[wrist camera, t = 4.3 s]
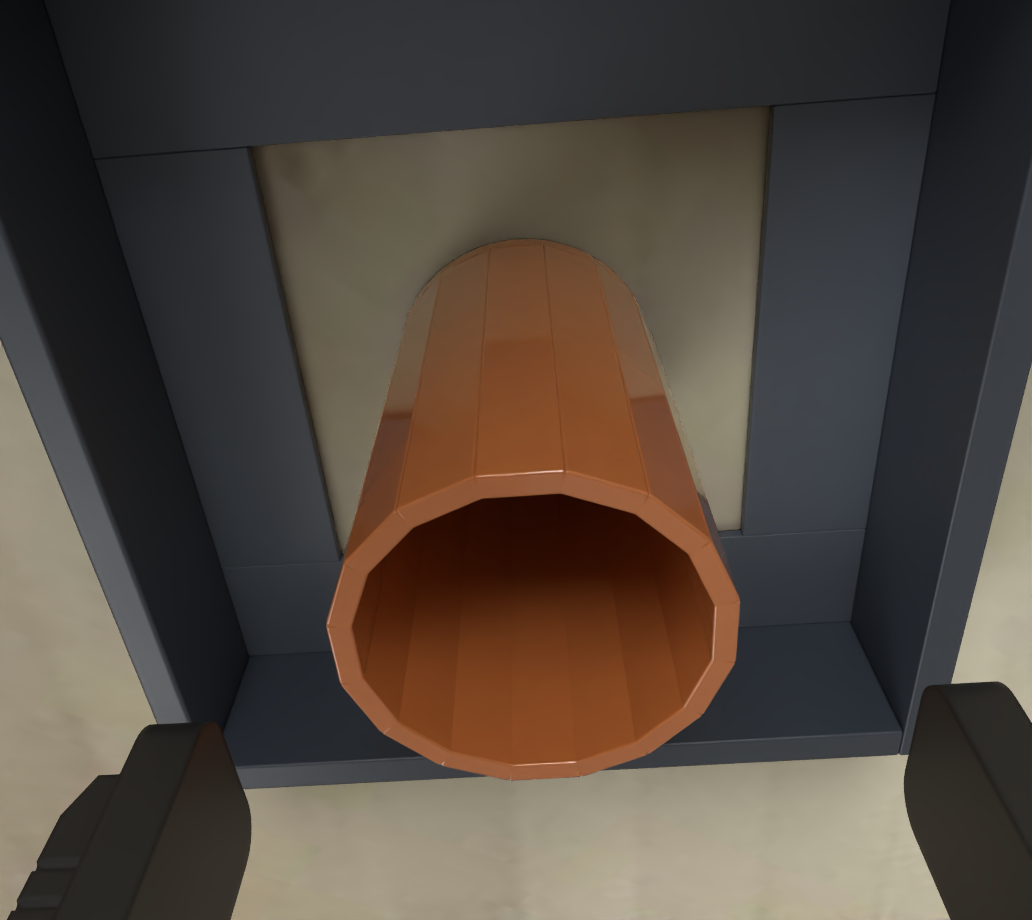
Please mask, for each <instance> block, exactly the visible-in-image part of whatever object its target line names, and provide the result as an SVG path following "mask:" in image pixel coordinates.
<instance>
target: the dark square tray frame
mask: <svg viewBox="0 0 1032 920" xmlns="http://www.w3.org/2000/svg"><path fill="white" fill-rule="evenodd" d="M758 106H771V108H770V123H769V137H768V151H767V165H766V179H765V193H764V207H763V221H762V235H761V249H760V263H759V277H758V291H757V306H756V320H755V334H754V348H753V362H752V376H751V390H750V404H749V418H748V432H747V446H746V460H745V474H744V488H743V503H742V517H741V530H730V531H718V534H719V537H720V540H721V543H722V546H723V549H724V552H725V555H726V558H727V561H728V564H729V567H730V570H731V573H732V576H733V579H734V582H735V585H736V588H737V591H738V594H739V597H740V602H741V603H740V616H739V629H738V643H737V656H736V661H735V664H734V666H733V667H732V669H731V671H730V672H729V674H728V675H727V677H726V679H725V680H724V682H723V683H722V685H721V687H720V688H719V690H718V691H717V693H716V695H715V696H714V698H713V699H712V701H711V703H710V704H709V706H708V707H707V709H706V711H705V712H704V714H702V715H701V717H700V718H698V719H697V720H695V721H694V722H693V723H691V724H690V725H689V726H687V727H686V728H684V729H683V730H682V731H680V732H679V733H678V734H676V735H675V736H673V737H672V738H671V739H669V740H668V741H667V742H665V743H664V744H662V745H661V746H660V747H658V748H657V749H656V750H654V751H653V752H651V753H647V755H646V756H643V757H640V758H637V759H634V760H631V761H628V762H625V763H622V764H619V765H616V766H613V767H610V768H607V769H604V770H619V769H638V768H658V767H677V766H696V765H715V764H734V763H753V762H772V761H791V760H810V759H829V758H848V757H868V756H887V755H897V754H898V753H899V754H900V755H909V751H910V746H911V742H912V737H913V732H914V728H915V723H916V719H917V714H918V709H919V705H920V700H921V696H922V693H923V691H924V689H925V688H926V687H927V686H929V685H941V684H951V681H952V677H953V673H954V669H955V665H956V661H957V657H958V653H959V649H960V645H961V641H962V637H963V633H964V629H965V625H966V621H967V617H968V613H969V609H970V606H971V602H972V598H973V594H974V590H975V586H976V582H977V578H978V574H979V570H980V566H981V562H982V558H983V554H984V550H985V546H986V542H987V538H988V534H989V530H990V526H991V522H992V518H993V514H994V510H995V506H996V502H997V498H998V494H999V490H1000V486H1001V482H1002V478H1003V474H1004V470H1005V466H1006V462H1007V458H1008V454H1009V450H1010V446H1011V442H1012V438H1013V434H1014V430H1015V426H1016V422H1017V418H1018V414H1019V410H1020V406H1021V402H1022V398H1023V394H1024V390H1025V387H1026V383H1027V379H1028V375H1029V371H1030V367H1031V363H1032V0H0V340H1V342H2V345H3V347H4V349H5V352H6V354H7V357H8V359H9V362H10V364H11V367H12V369H13V371H14V374H15V376H16V379H17V381H18V384H19V386H20V389H21V391H22V394H23V396H24V398H25V401H26V403H27V406H28V408H29V411H30V413H31V416H32V418H33V420H34V423H35V425H36V428H37V430H38V433H39V435H40V438H41V440H42V443H43V445H44V447H45V450H46V452H47V455H48V457H49V460H50V462H51V465H52V467H53V469H54V472H55V474H56V477H57V479H58V482H59V484H60V487H61V489H62V492H63V494H64V496H65V499H66V501H67V504H68V506H69V509H70V511H71V514H72V516H73V518H74V521H75V523H76V526H77V528H78V531H79V533H80V536H81V538H82V541H83V543H84V545H85V548H86V550H87V553H88V555H89V558H90V560H91V563H92V565H93V567H94V570H95V572H96V575H97V577H98V580H99V582H100V585H101V587H102V590H103V592H104V594H105V597H106V599H107V602H108V604H109V607H110V609H111V612H112V614H113V617H114V619H115V621H116V624H117V626H118V629H119V631H120V634H121V636H122V639H123V641H124V643H125V646H126V648H127V651H128V653H129V656H130V658H131V661H132V663H133V666H134V668H135V670H136V673H137V675H138V678H139V680H140V683H141V685H142V688H143V690H144V692H145V695H146V697H147V700H148V702H149V705H150V707H151V710H152V712H153V715H154V717H155V719H156V722H157V724H173V723H191V722H210V721H213V722H216V723H217V724H218V725H219V727H220V728H221V730H222V732H223V735H224V738H225V740H226V743H227V746H228V749H229V751H230V754H231V757H232V760H233V762H234V765H235V768H236V771H237V773H238V776H239V779H240V782H241V784H242V787H243V789H257V788H276V787H295V786H314V785H333V784H352V783H371V782H390V781H409V780H428V779H447V778H467V777H486V775H481V774H477V773H472V772H467V771H463V770H458V769H454V768H449V767H444V766H442V765H441V764H440V765H439V764H436V763H435V762H433V761H431V760H429V759H427V758H426V757H424V756H422V755H420V754H418V753H417V752H415V751H413V750H411V749H409V748H408V747H406V746H404V745H402V744H400V743H399V742H397V741H395V740H393V739H391V738H390V737H388V736H386V735H384V734H383V733H382V732H381V731H379V730H378V728H377V727H376V726H375V725H374V724H373V723H372V721H371V720H370V719H369V718H368V717H367V715H366V714H365V713H364V712H363V711H362V709H361V708H360V707H359V706H358V705H357V704H356V702H355V701H354V700H353V699H352V698H351V696H350V695H349V694H348V693H347V692H346V691H345V689H344V688H343V687H342V685H341V683H340V681H339V677H338V673H337V669H336V665H335V661H334V657H333V653H332V649H331V645H330V641H329V637H328V633H327V628H326V625H327V624H326V620H327V616H328V613H329V609H330V605H331V601H332V597H333V594H334V590H335V586H336V582H337V578H338V575H339V571H340V567H341V563H342V559H343V556H344V554H341V551H340V547H339V542H338V538H337V533H336V529H335V524H334V520H333V515H332V511H331V506H330V502H329V497H328V493H327V488H326V484H325V479H324V475H323V470H322V466H321V461H320V457H319V452H318V448H317V443H316V439H315V434H314V430H313V425H312V421H311V416H310V412H309V407H308V403H307V398H306V394H305V389H304V385H303V380H302V376H301V371H300V367H299V362H298V358H297V353H296V349H295V344H294V340H293V335H292V331H291V326H290V322H289V317H288V313H287V308H286V304H285V299H284V295H283V290H282V285H281V281H280V276H279V272H278V267H277V263H276V258H275V254H274V249H273V245H272V240H271V236H270V231H269V227H268V222H267V218H266V213H265V209H264V204H263V200H262V195H261V191H260V186H259V182H258V177H257V173H256V168H255V164H254V159H253V155H252V150H251V146H261V145H274V144H287V143H299V142H312V141H325V140H337V139H350V138H363V137H376V136H388V135H401V134H414V133H427V132H439V131H452V130H465V129H478V128H490V127H503V126H516V125H529V124H541V123H554V122H567V121H580V120H592V119H605V118H618V117H631V116H643V115H656V114H669V113H681V112H694V111H707V110H720V109H732V108H745V107H758Z"/></svg>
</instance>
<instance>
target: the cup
mask: <svg viewBox="0 0 1032 920" xmlns="http://www.w3.org/2000/svg"><path fill="white" fill-rule="evenodd" d="M740 603H741V602H740V597H739V594H738V591H737V588H736V585H735V582H734V579H733V576H732V573H731V570H730V567H729V564H728V561H727V558H726V555H725V552H724V549H723V546H722V543H721V540H720V537H719V534H718V531H717V528H716V525H715V522H714V519H713V516H712V513H711V510H710V507H709V504H708V501H707V498H706V495H705V492H704V489H703V486H702V483H701V480H700V477H699V474H698V471H697V468H696V465H695V462H694V459H693V456H692V453H691V450H690V447H689V444H688V441H687V438H686V435H685V432H684V429H683V426H682V423H681V420H680V417H679V414H678V411H677V408H676V405H675V402H674V399H673V396H672V393H671V390H670V387H669V383H668V380H667V377H666V374H665V371H664V368H663V365H662V362H661V359H660V356H659V353H658V350H657V347H656V344H655V341H654V338H653V336H652V334H651V331H650V329H649V327H648V325H647V323H646V320H645V318H644V315H643V312H642V310H641V307H640V306H639V304H638V302H637V300H636V298H635V296H634V295H633V293H632V292H631V291H630V289H629V288H628V287H627V285H626V284H625V283H624V281H623V280H622V279H621V278H620V277H619V276H618V275H617V274H616V273H615V272H614V271H613V270H611V269H610V268H609V267H607V266H606V265H605V264H604V263H602V262H601V261H600V260H598V259H596V258H594V257H593V256H591V255H589V254H587V253H586V252H584V251H581V250H579V249H576V248H574V247H571V246H568V245H565V244H561V243H557V242H553V241H546V240H538V239H514V240H507V241H500V242H496V243H492V244H489V245H485V246H482V247H479V248H477V249H474V250H472V251H470V252H467V253H465V254H464V255H462V256H460V257H458V258H457V259H455V260H453V261H452V262H450V263H449V264H448V265H446V266H445V267H444V268H443V269H441V270H440V271H439V272H438V273H437V274H436V275H435V276H434V277H433V278H432V279H431V280H430V281H429V282H428V283H427V284H426V286H425V287H424V288H423V290H422V291H421V292H420V294H419V295H418V296H417V298H416V300H415V302H414V304H413V306H412V308H411V309H410V312H409V313H408V316H407V319H406V323H405V325H404V329H403V333H402V337H401V340H400V344H399V347H398V351H397V354H396V358H395V362H394V366H393V369H392V373H391V377H390V381H389V385H388V388H387V392H386V396H385V400H384V404H383V407H382V411H381V415H380V419H379V423H378V426H377V430H376V434H375V438H374V442H373V445H372V449H371V453H370V457H369V461H368V464H367V468H366V472H365V476H364V480H363V483H362V487H361V491H360V495H359V499H358V502H357V506H356V510H355V514H354V518H353V521H352V525H351V529H350V533H349V537H348V540H347V544H346V548H345V552H344V556H343V559H342V563H341V567H340V571H339V575H338V578H337V582H336V586H335V590H334V594H333V597H332V601H331V605H330V609H329V613H328V616H327V620H326V624H327V625H326V628H327V633H328V637H329V641H330V645H331V649H332V653H333V657H334V661H335V665H336V669H337V673H338V677H339V681H340V683H341V685H342V687H343V688H344V689H345V691H346V692H347V693H348V694H349V695H350V696H351V698H352V699H353V700H354V701H355V702H356V704H357V705H358V706H359V707H360V708H361V709H362V711H363V712H364V713H365V714H366V715H367V717H368V718H369V719H370V720H371V721H372V723H373V724H374V725H375V726H376V727H377V728H378V730H379V731H381V732H382V733H383V734H384V735H386V736H388V737H390V738H391V739H393V740H395V741H397V742H399V743H400V744H402V745H404V746H406V747H408V748H409V749H411V750H413V751H415V752H417V753H418V754H420V755H422V756H424V757H426V758H427V759H429V760H431V761H433V762H435V763H436V764H439V765H440V764H441V765H442V766H444V767H449V768H454V769H458V770H463V771H467V772H472V773H477V774H481V775H486V776H491V777H495V778H500V779H504V780H509V779H510V780H531V779H550V778H569V777H580V776H586V775H589V774H592V773H595V772H598V771H601V770H604V769H607V768H610V767H613V766H616V765H619V764H622V763H625V762H628V761H631V760H634V759H637V758H640V757H643V756H646V755H647V753H651V752H653V751H654V750H656V749H657V748H658V747H660V746H661V745H662V744H664V743H665V742H667V741H668V740H669V739H671V738H672V737H673V736H675V735H676V734H678V733H679V732H680V731H682V730H683V729H684V728H686V727H687V726H689V725H690V724H691V723H693V722H694V721H695V720H697V719H698V718H700V717H701V715H702V714H704V712H705V711H706V709H707V707H708V706H709V704H710V703H711V701H712V699H713V698H714V696H715V695H716V693H717V691H718V690H719V688H720V687H721V685H722V683H723V682H724V680H725V679H726V677H727V675H728V674H729V672H730V671H731V669H732V667H733V666H734V664H735V661H736V656H737V643H738V629H739V616H740Z"/></svg>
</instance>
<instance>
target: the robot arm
mask: <svg viewBox="0 0 1032 920" xmlns="http://www.w3.org/2000/svg"><path fill="white" fill-rule="evenodd" d="M904 795H905V803H906V808H907V813H908V817H909V821H910V824H911V827H912V830H913V833H914V835H915V838H916V840H917V842H918V845H919V847H920V849H921V852H922V854H923V856H924V859H925V861H926V863H927V866H928V868H929V870H930V873H931V875H932V877H933V880H934V882H935V884H936V887H937V889H938V891H939V894H940V896H941V898H942V901H943V903H944V905H945V908H946V910H947V912H948V915H949V917H950V919H951V920H1032V723H1031V721H1030V719H1029V718H1028V716H1027V715H1026V713H1025V711H1024V710H1023V708H1022V707H1021V705H1020V704H1019V702H1018V700H1017V699H1016V697H1015V696H1014V694H1013V693H1012V692H1011V690H1010V689H1009V688H1008V687H1007V686H1006V685H1004V684H1003V683H1000V682H978V683H960V684H941V685H929V686H927V687H926V688H925V689H924V691H923V693H922V696H921V700H920V705H919V709H918V714H917V719H916V723H915V728H914V732H913V737H912V742H911V746H910V751H909V755H908V760H907V765H906V769H905V775H904ZM250 844H251V814H250V808H249V804H248V801H247V798H246V796H245V793H244V790H243V787H242V784H241V782H240V779H239V776H238V773H237V771H236V768H235V765H234V762H233V760H232V757H231V754H230V751H229V749H228V746H227V743H226V740H225V738H224V735H223V732H222V730H221V728H220V727H219V725H218V724H217V723H216V722H213V721H210V722H191V723H173V724H154V725H148V726H146V727H145V728H144V729H143V730H142V731H141V732H140V734H139V735H138V737H137V739H136V741H135V743H134V745H133V747H132V749H131V751H130V754H129V756H128V758H127V760H126V762H125V764H124V766H123V768H122V771H121V773H120V774H117V775H98V776H97V778H96V779H95V780H94V781H93V782H92V783H91V784H90V785H89V786H88V787H87V788H86V789H85V790H84V791H83V792H82V793H81V794H80V796H79V797H78V798H77V799H76V800H75V801H74V802H73V803H72V804H71V805H70V806H69V807H68V808H67V809H66V810H65V811H64V812H63V814H62V815H61V816H60V817H59V819H58V821H57V823H56V825H55V827H54V829H53V831H52V833H51V835H50V837H49V839H48V841H47V843H46V845H45V847H44V849H43V851H42V852H41V854H40V856H39V858H38V860H37V869H36V871H32V872H31V874H30V876H29V878H28V880H27V882H26V884H25V886H24V888H23V889H22V891H21V893H20V895H19V897H18V899H17V908H16V910H15V911H11V913H10V915H9V917H8V919H7V920H231V916H232V913H233V909H234V906H235V902H236V899H237V895H238V892H239V889H240V885H241V882H242V878H243V875H244V871H245V868H246V864H247V861H248V856H249V851H250Z"/></svg>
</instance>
